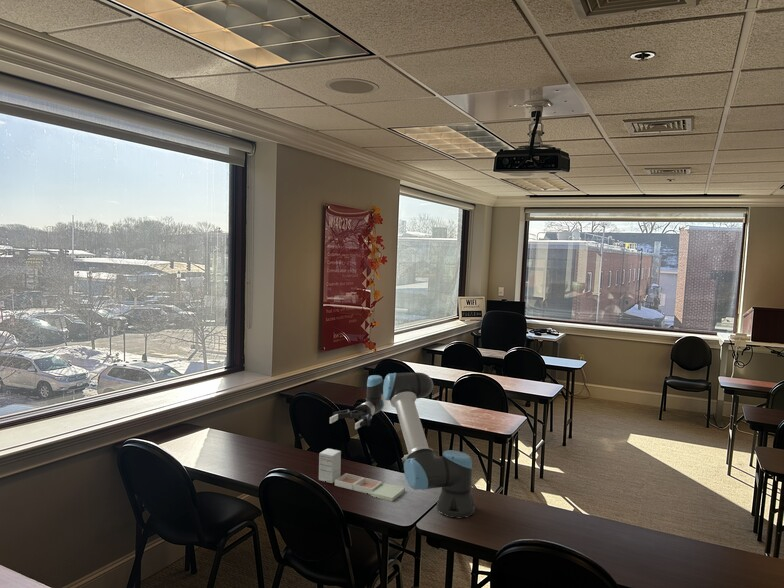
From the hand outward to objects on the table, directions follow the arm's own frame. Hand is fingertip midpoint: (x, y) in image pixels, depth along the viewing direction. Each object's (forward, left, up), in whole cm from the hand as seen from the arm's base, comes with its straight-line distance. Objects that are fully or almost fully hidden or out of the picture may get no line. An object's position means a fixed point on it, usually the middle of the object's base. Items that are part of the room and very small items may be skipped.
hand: (342, 423), depth 256 cm
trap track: (-21, -3, -23) cm, 32 cm away
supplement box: (-4, +8, -24) cm, 25 cm away
